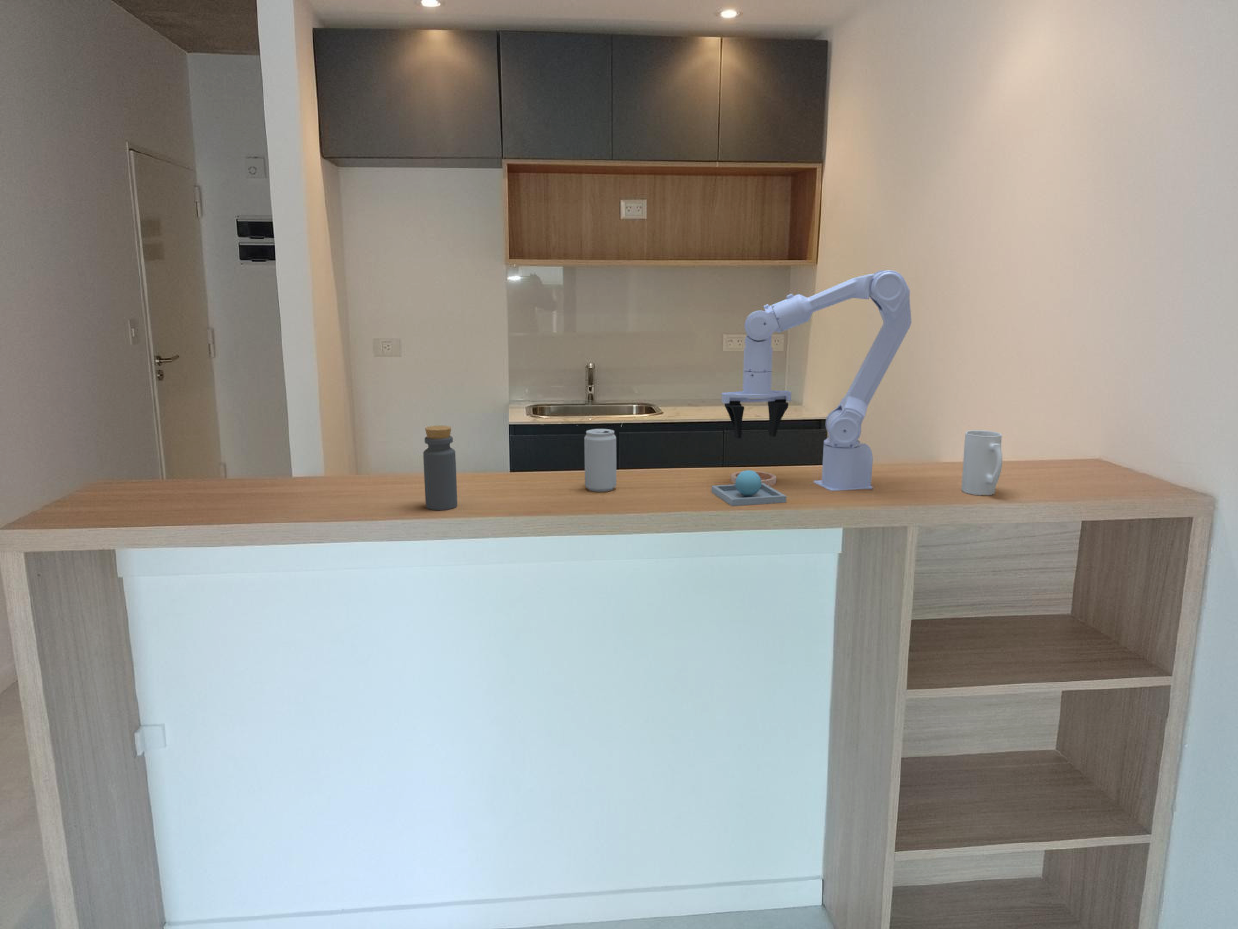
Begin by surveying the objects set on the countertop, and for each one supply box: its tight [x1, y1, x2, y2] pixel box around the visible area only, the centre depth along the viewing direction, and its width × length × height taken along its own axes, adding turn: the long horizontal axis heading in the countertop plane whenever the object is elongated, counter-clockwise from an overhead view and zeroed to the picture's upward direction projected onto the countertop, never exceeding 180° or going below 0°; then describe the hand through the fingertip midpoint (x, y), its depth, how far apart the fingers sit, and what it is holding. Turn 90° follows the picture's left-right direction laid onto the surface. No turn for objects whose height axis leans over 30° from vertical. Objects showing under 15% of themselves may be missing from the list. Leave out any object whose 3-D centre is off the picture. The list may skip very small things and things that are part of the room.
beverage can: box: [583, 428, 617, 493], centre depth 174 cm, size 6×6×12 cm
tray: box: [710, 483, 787, 507], centre depth 168 cm, size 11×11×2 cm
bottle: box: [422, 425, 458, 511], centre depth 161 cm, size 6×6×15 cm
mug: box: [961, 429, 1003, 496], centre depth 171 cm, size 10×7×12 cm, turn 9°
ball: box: [735, 469, 761, 496], centre depth 168 cm, size 5×5×5 cm
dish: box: [730, 470, 777, 487], centre depth 180 cm, size 9×9×2 cm
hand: (755, 436), depth 178 cm, fingers open, 7 cm apart
